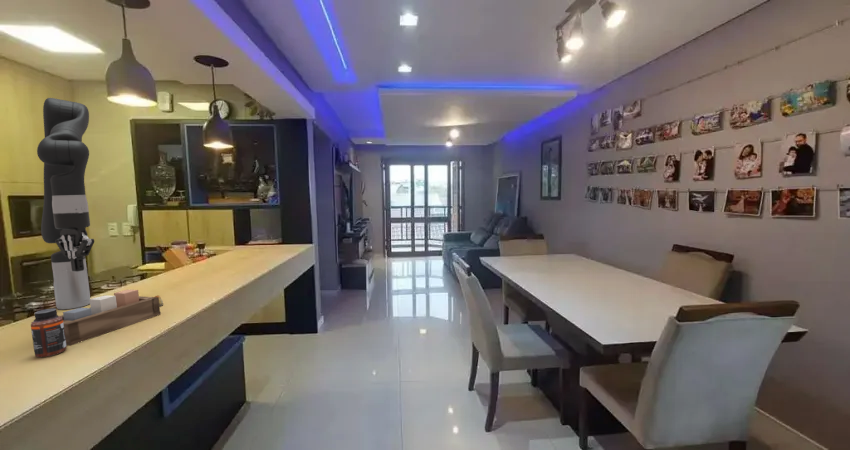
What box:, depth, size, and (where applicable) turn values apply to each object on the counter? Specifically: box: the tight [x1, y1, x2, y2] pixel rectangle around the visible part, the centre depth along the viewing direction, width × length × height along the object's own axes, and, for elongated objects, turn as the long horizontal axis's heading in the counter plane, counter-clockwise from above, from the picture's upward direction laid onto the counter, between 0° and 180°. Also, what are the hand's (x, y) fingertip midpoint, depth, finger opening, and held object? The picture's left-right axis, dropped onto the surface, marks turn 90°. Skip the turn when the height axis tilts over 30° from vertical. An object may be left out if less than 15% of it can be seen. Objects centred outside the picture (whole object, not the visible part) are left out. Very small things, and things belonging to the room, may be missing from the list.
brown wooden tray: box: [60, 295, 161, 346], centre depth 118 cm, size 12×26×6 cm, turn 164°
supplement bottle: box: [30, 308, 68, 358], centre depth 98 cm, size 6×6×11 cm
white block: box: [89, 295, 117, 315], centre depth 117 cm, size 4×4×5 cm
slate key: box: [62, 307, 92, 321], centre depth 111 cm, size 4×4×5 cm
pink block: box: [113, 289, 140, 307], centre depth 124 cm, size 4×4×5 cm
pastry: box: [154, 295, 164, 308], centre depth 137 cm, size 9×7×4 cm
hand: (78, 270), depth 111 cm, fingers closed
